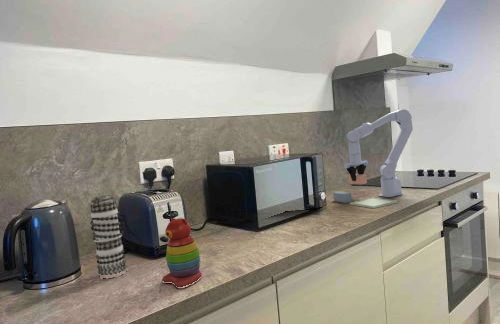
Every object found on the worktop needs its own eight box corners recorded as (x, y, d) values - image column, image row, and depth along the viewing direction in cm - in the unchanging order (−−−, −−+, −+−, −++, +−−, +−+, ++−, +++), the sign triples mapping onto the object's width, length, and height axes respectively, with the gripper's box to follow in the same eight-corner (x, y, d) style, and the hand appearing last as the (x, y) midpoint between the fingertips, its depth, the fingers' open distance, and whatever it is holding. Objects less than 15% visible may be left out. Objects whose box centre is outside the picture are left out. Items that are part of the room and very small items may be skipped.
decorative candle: (133, 271, 119) (122, 194, 117) (104, 282, 113) (92, 200, 111) (121, 266, 125) (110, 193, 124) (93, 276, 119) (81, 198, 117)
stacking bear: (159, 282, 107) (151, 221, 106) (188, 270, 114) (181, 213, 113) (180, 290, 99) (172, 224, 98) (210, 277, 106) (202, 215, 105)
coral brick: (354, 182, 199) (353, 173, 198) (366, 183, 191) (366, 174, 190) (348, 183, 197) (348, 174, 197) (360, 184, 189) (360, 175, 189)
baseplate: (372, 198, 188) (372, 197, 188) (398, 202, 174) (397, 200, 173) (349, 204, 181) (349, 202, 181) (373, 208, 167) (373, 206, 167)
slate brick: (340, 199, 196) (339, 191, 196) (351, 201, 188) (351, 192, 188) (334, 201, 194) (333, 192, 194) (345, 203, 186) (344, 194, 186)
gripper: (360, 152, 200) (362, 177, 201) (338, 155, 193) (341, 181, 194) (369, 152, 193) (372, 178, 194) (348, 155, 187) (350, 182, 188)
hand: (357, 180), depth 194 cm, fingers closed on coral brick, 4 cm apart
